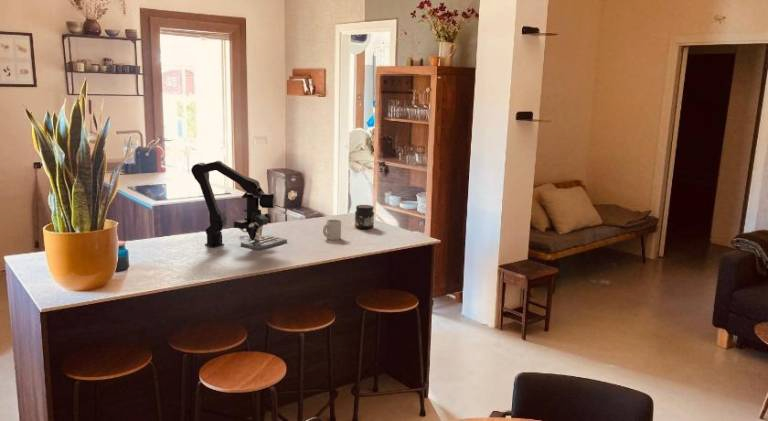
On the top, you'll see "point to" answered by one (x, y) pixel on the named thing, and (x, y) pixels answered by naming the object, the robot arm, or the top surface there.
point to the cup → (332, 229)
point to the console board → (264, 242)
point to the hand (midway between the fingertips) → (252, 239)
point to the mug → (257, 230)
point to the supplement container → (364, 217)
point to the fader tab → (257, 237)
